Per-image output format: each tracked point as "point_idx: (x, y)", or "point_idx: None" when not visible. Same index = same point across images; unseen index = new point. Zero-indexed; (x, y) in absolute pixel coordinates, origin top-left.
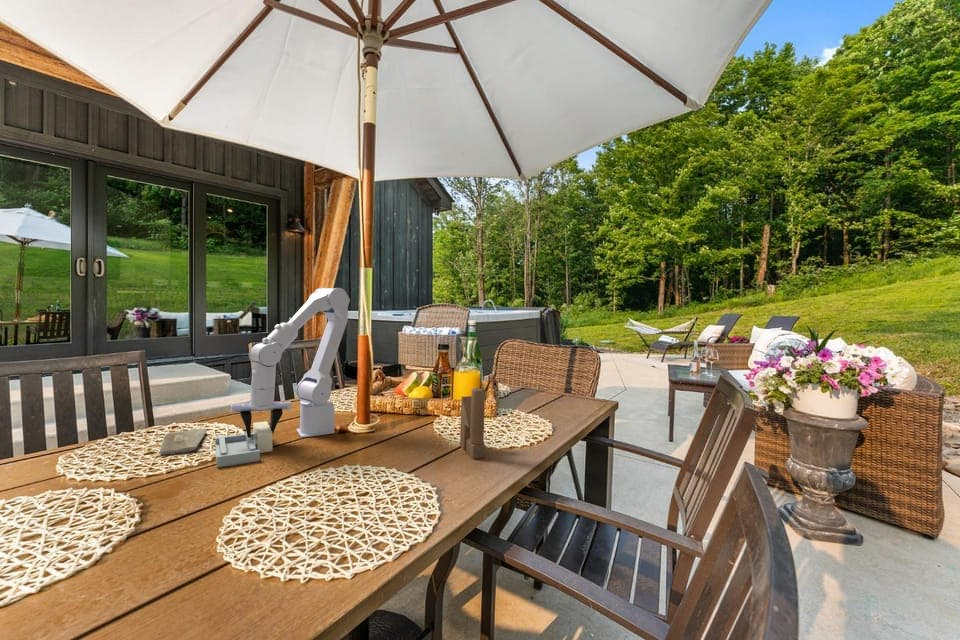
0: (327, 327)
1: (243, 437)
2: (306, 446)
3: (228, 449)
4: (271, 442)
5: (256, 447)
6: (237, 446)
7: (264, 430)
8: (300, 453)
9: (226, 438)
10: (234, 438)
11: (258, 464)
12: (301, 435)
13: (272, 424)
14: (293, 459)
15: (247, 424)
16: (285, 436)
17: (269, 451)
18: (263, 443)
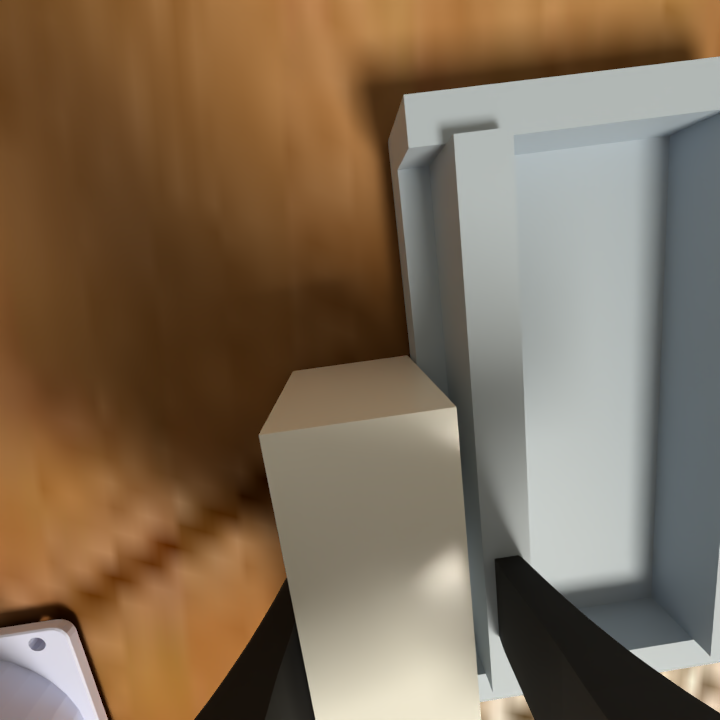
0: None
1: None
2: (6, 398)
3: (634, 434)
4: (290, 391)
5: None
6: (566, 487)
7: (370, 578)
8: (38, 218)
9: (666, 631)
10: None
11: (396, 44)
12: (66, 647)
13: (263, 701)
14: (87, 59)
15: (645, 690)
16: (211, 683)
17: (315, 368)
18: (368, 381)
